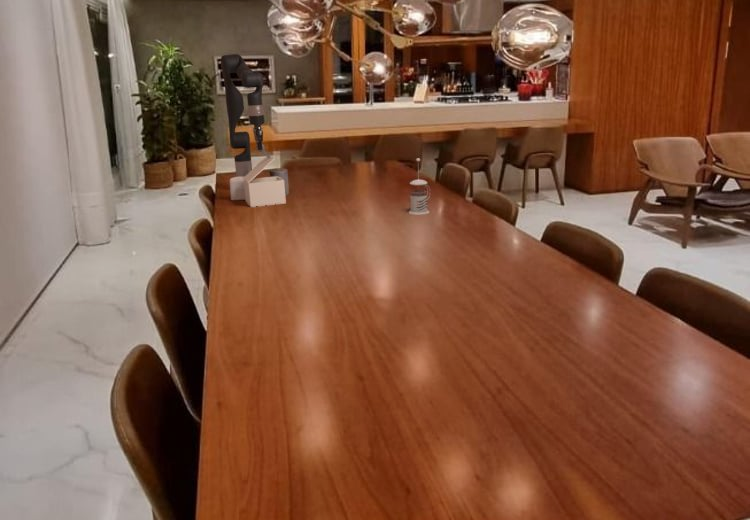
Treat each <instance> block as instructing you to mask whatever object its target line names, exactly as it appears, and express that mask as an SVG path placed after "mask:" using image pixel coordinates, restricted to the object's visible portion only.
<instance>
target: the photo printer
mask: <svg viewBox="0 0 750 520" xmlns="http://www.w3.org/2000/svg"><path fill="white" fill-rule="evenodd" d="M243 178H244V177H242V176H239V177H236V176H234V177H231V178H230V179H229V193H230V200H231V201H243V200H245V201H246V198H245V188H244V179H243Z"/></svg>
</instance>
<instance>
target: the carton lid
mask: <svg viewBox="0 0 750 520" xmlns="http://www.w3.org/2000/svg"><path fill="white" fill-rule="evenodd" d="M255 148H256V150H257V151H258V152H262V153H263V154H264V155H265V157H264V158H263V159H262V160H261V161H260V162H259V163H258V164H256V166H254V167H252V170H251V171H250V172H249V173H248V174H247V175H246V176H245V177H244V178H243V179H244V180H245V181H246V182H247V183H249V182H250V181H251V180H253V179H254V178H256V177H257V176H258V175H260V173H261V172H262V171H263V170H265V169H266V168H267V167H268V166H269V165H270V164H271V163H272V162H273V161H274V160H276V158H275V157H273V156H271V155H269V153H268V152H267V151H266V150H265V149H266V147H265V145H264V144H263V143H262V148H263V149H262V150H258V145H257V144H256V147H255Z"/></svg>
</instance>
